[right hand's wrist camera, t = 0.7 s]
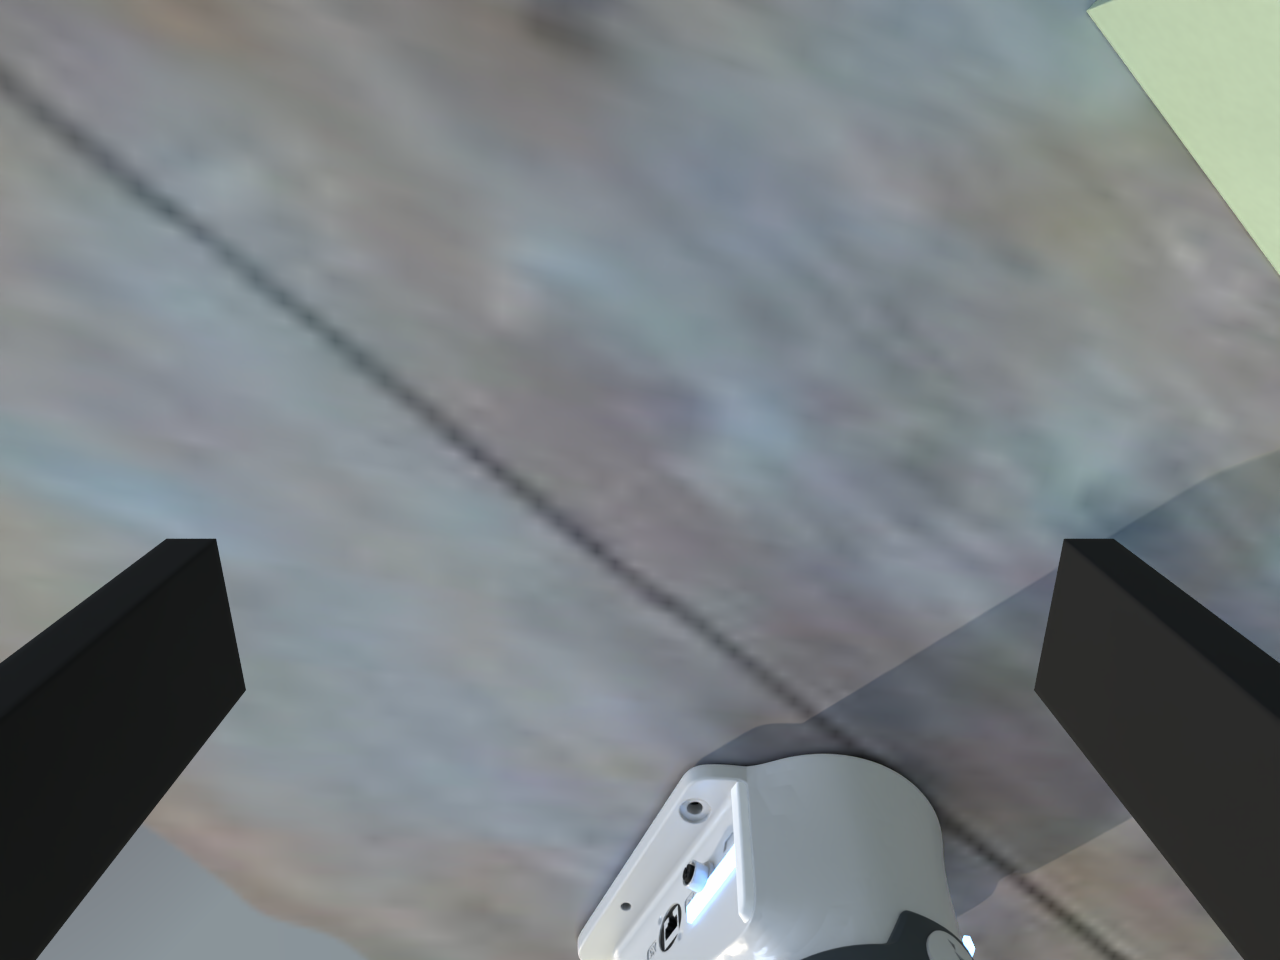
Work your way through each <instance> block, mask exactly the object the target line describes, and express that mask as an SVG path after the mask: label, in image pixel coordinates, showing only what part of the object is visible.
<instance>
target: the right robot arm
mask: <svg viewBox="0 0 1280 960" xmlns="http://www.w3.org/2000/svg"><path fill="white" fill-rule="evenodd" d="M245 691H246V688H245V683H244V678H243V673H242V668H241V663H240V658H239V653H238V648H237V643H236V638H235V633H234V628H233V623H232V617H231V612H230V607H229V602H228V597H227V592H226V587H225V582H224V577H223V572H222V567H221V562H220V557H219V551H218V546H217V541H216V539H166V540H164V541H163V542H162V543H160V544H159V545H158V546H156V547H155V548H154V549H152V550H151V551H150V552H148V553H147V554H146V555H144V556H143V557H142V558H140V559H139V560H138V561H136V562H135V563H134V564H132V565H131V566H130V567H128V568H127V569H126V570H124V571H123V572H122V573H120V574H119V575H118V576H116V577H115V578H114V579H112V580H111V581H110V582H108V583H107V584H106V585H104V586H103V587H102V588H100V589H99V590H98V591H96V592H95V593H94V594H92V595H91V596H90V597H88V598H87V599H86V600H84V601H83V602H82V603H80V604H79V605H78V606H76V607H75V608H74V609H72V610H71V611H70V612H68V613H67V614H66V615H64V616H63V617H62V618H60V619H59V620H58V621H56V622H55V623H54V624H52V625H51V626H50V627H48V628H47V629H46V630H44V631H43V632H41V633H40V634H39V635H37V636H36V637H35V638H33V639H32V640H31V641H29V642H28V643H27V644H25V645H24V646H23V647H21V648H20V649H19V650H17V651H16V652H15V653H13V654H12V655H11V656H9V657H8V658H7V659H5V660H4V661H3V662H1V663H0V960H36V959H37V958H38V956H39V955H40V954H41V953H42V951H43V950H44V949H45V947H46V946H47V945H48V944H49V942H50V941H51V940H52V938H53V937H54V936H55V934H56V933H57V932H58V931H59V929H60V928H61V927H62V926H63V924H64V923H65V922H66V920H67V919H68V918H69V917H70V915H71V914H72V913H73V911H74V910H75V909H76V908H77V906H78V905H79V904H80V902H81V901H82V900H83V899H84V897H85V896H86V895H87V893H88V892H89V891H90V890H91V888H92V887H93V886H94V885H95V883H96V882H97V881H98V879H99V878H100V877H101V876H102V874H103V873H104V872H105V870H106V869H107V868H108V867H109V865H110V864H111V863H112V861H113V860H114V859H115V858H116V856H117V855H118V854H119V852H120V851H121V850H122V849H123V847H124V846H125V845H126V843H127V842H128V841H129V840H130V838H131V837H132V836H133V834H134V833H135V832H136V831H137V829H138V828H139V827H140V825H141V824H142V823H143V822H144V820H145V819H146V818H147V816H148V815H149V814H150V813H151V811H152V810H153V809H154V807H155V806H156V805H157V804H158V802H159V801H160V800H161V798H162V797H163V796H164V795H165V793H166V792H167V791H168V789H169V788H170V787H171V786H172V784H173V783H174V782H175V781H176V779H177V778H178V777H179V775H180V774H181V773H182V772H183V770H184V769H185V768H186V766H187V765H188V764H189V763H190V761H191V760H192V759H193V757H194V756H195V755H196V754H197V752H198V751H199V750H200V748H201V747H202V746H203V745H204V743H205V742H206V741H207V739H208V738H209V737H210V736H211V734H212V733H213V732H214V730H215V729H216V728H217V727H218V725H219V724H220V723H221V721H222V720H223V719H224V718H225V716H226V715H227V714H228V712H229V711H230V710H231V709H232V707H233V706H234V705H235V703H236V702H237V701H238V700H239V698H240V697H241V696H242V694H243V693H244V692H245ZM1034 691H1035V692H1036V693H1037V694H1038V696H1039V697H1040V698H1041V700H1042V701H1043V702H1044V703H1045V705H1046V706H1047V707H1048V709H1049V710H1050V711H1051V712H1052V714H1053V715H1054V716H1055V718H1056V719H1057V720H1058V721H1059V723H1060V724H1061V725H1062V727H1063V728H1064V729H1065V730H1066V732H1067V733H1068V734H1069V736H1070V737H1071V738H1072V739H1073V741H1074V742H1075V743H1076V745H1077V746H1078V747H1079V748H1080V750H1081V751H1082V752H1083V754H1084V755H1085V756H1086V757H1087V759H1088V760H1089V761H1090V763H1091V764H1092V765H1093V766H1094V768H1095V769H1096V770H1097V772H1098V773H1099V774H1100V775H1101V777H1102V778H1103V779H1104V781H1105V782H1106V783H1107V784H1108V786H1109V787H1110V788H1111V789H1112V791H1113V792H1114V793H1115V795H1116V796H1117V797H1118V798H1119V800H1120V801H1121V802H1122V804H1123V805H1124V806H1125V807H1126V809H1127V810H1128V811H1129V813H1130V814H1131V815H1132V816H1133V818H1134V819H1135V820H1136V822H1137V823H1138V824H1139V825H1140V827H1141V828H1142V829H1143V831H1144V832H1145V833H1146V834H1147V836H1148V837H1149V838H1150V840H1151V841H1152V842H1153V843H1154V845H1155V846H1156V847H1157V849H1158V850H1159V851H1160V852H1161V854H1162V855H1163V856H1164V858H1165V859H1166V860H1167V861H1168V863H1169V864H1170V865H1171V867H1172V868H1173V869H1174V870H1175V872H1176V873H1177V874H1178V876H1179V877H1180V878H1181V879H1182V881H1183V882H1184V883H1185V885H1186V886H1187V887H1188V888H1189V890H1190V891H1191V892H1192V894H1193V895H1194V896H1195V897H1196V899H1197V900H1198V901H1199V903H1200V904H1201V905H1202V906H1203V908H1204V909H1205V910H1206V911H1207V913H1208V914H1209V915H1210V917H1211V918H1212V919H1213V920H1214V922H1215V923H1216V924H1217V926H1218V927H1219V928H1220V929H1221V931H1222V932H1223V933H1224V935H1225V936H1226V937H1227V938H1228V940H1229V941H1230V942H1231V944H1232V945H1233V946H1234V947H1235V949H1236V950H1237V951H1238V953H1239V954H1240V955H1241V956H1242V958H1243V959H1244V960H1280V663H1279V662H1277V661H1276V660H1275V659H1273V658H1272V657H1271V656H1269V655H1268V654H1267V653H1265V652H1264V651H1263V650H1261V649H1260V648H1259V647H1257V646H1256V645H1255V644H1253V643H1252V642H1251V641H1249V640H1248V639H1247V638H1245V637H1244V636H1243V635H1241V634H1240V633H1239V632H1237V631H1236V630H1234V629H1233V628H1232V627H1230V626H1229V625H1228V624H1226V623H1225V622H1224V621H1222V620H1221V619H1220V618H1218V617H1217V616H1216V615H1214V614H1213V613H1212V612H1210V611H1209V610H1208V609H1206V608H1205V607H1204V606H1202V605H1201V604H1200V603H1198V602H1197V601H1196V600H1194V599H1193V598H1192V597H1190V596H1189V595H1188V594H1186V593H1185V592H1184V591H1182V590H1181V589H1180V588H1178V587H1177V586H1176V585H1174V584H1173V583H1172V582H1170V581H1169V580H1168V579H1166V578H1165V577H1164V576H1162V575H1161V574H1160V573H1158V572H1157V571H1156V570H1154V569H1153V568H1152V567H1150V566H1149V565H1148V564H1146V563H1145V562H1144V561H1142V560H1141V559H1140V558H1138V557H1137V556H1136V555H1134V554H1133V553H1132V552H1130V551H1129V550H1128V549H1126V548H1125V547H1124V546H1122V545H1121V544H1120V543H1118V542H1117V541H1116V540H1114V539H1064V541H1063V546H1062V551H1061V557H1060V562H1059V567H1058V572H1057V577H1056V582H1055V587H1054V592H1053V597H1052V602H1051V607H1050V612H1049V617H1048V623H1047V628H1046V633H1045V638H1044V643H1043V648H1042V653H1041V658H1040V663H1039V668H1038V673H1037V678H1036V683H1035V688H1034Z"/></svg>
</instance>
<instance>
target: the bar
mask: <svg viewBox="0 0 1280 960" xmlns="http://www.w3.org/2000/svg"><path fill="white" fill-rule="evenodd" d="M1087 12H1088V14H1089V15H1090V17H1091V18H1092V19H1093V21H1094V22H1095V23H1096V25H1097V26H1098V28H1099V29H1100V30H1101V32H1102V33H1103V34H1104V36H1105V37H1106V38H1107V40H1108V41H1109V43H1110V44H1111V45H1112V47H1113V48H1114V49H1115V51H1116V52H1117V53H1118V55H1119V56H1120V58H1121V59H1122V60H1123V62H1124V63H1125V64H1126V66H1127V67H1128V69H1129V70H1130V71H1131V73H1132V74H1133V75H1134V77H1135V78H1136V79H1137V81H1138V82H1139V84H1140V85H1141V86H1142V88H1143V89H1144V90H1145V92H1146V93H1147V95H1148V96H1149V97H1150V99H1151V100H1152V101H1153V103H1154V104H1155V105H1156V107H1157V108H1158V110H1159V111H1160V112H1161V114H1162V115H1163V116H1164V118H1165V119H1166V121H1167V122H1168V123H1169V125H1170V126H1171V127H1172V129H1173V130H1174V131H1175V133H1176V134H1177V136H1178V137H1179V138H1180V140H1181V141H1182V142H1183V144H1184V145H1185V146H1186V148H1187V149H1188V151H1189V152H1190V153H1191V155H1192V156H1193V157H1194V159H1195V160H1196V162H1197V163H1198V164H1199V166H1200V167H1201V168H1202V170H1203V171H1204V172H1205V174H1206V175H1207V177H1208V178H1209V179H1210V181H1211V182H1212V183H1213V185H1214V186H1215V188H1216V189H1217V190H1218V192H1219V193H1220V194H1221V196H1222V197H1223V198H1224V200H1225V201H1226V203H1227V204H1228V205H1229V207H1230V208H1231V209H1232V211H1233V212H1234V214H1235V215H1236V216H1237V218H1238V219H1239V220H1240V222H1241V223H1242V224H1243V226H1244V227H1245V229H1246V230H1247V231H1248V233H1249V234H1250V235H1251V237H1252V238H1253V240H1254V241H1255V242H1256V244H1257V245H1258V246H1259V248H1260V249H1261V250H1262V252H1263V253H1264V255H1265V256H1266V257H1267V259H1268V260H1269V261H1270V263H1271V264H1272V265H1273V267H1274V268H1275V270H1276V271H1277V272H1278V274H1279V275H1280V0H1097V1H1096V2H1095V3H1094V4H1093V5H1092V6H1091V7H1090V8H1089V9H1088V10H1087Z"/></svg>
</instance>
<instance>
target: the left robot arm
mask: <svg viewBox="0 0 1280 960" xmlns="http://www.w3.org/2000/svg"><path fill="white" fill-rule="evenodd" d="M691 802H699V804H697V805H691V804H690V803H691ZM974 950H975V947H974V945H973V943H972V941H971V938H970V936H964V937H963V940H962V937H961V933H960V930H959V926H958V923H957V919H956V916H955V912H954V908H953V905H952V901H951V896H950V892H949V888H948V883H947V877H946V872H945V865H944V855H943V839H942V832H941V827H940V823H939V820H938V818H937V815H936V813H935V811H934V809H933V807H932V806H931V804H930V803H929V801H928V800H927V798H926V797H925V796H924V795H923V793H922V792H921V791H920V790H919V789H918V788H917V787H916V786H915V785H914V784H912V783H911V782H910V781H909V780H907V779H906V778H905V777H903V776H902V775H900V774H899V773H897V772H895V771H893V770H892V769H890V768H887V767H885V766H883V765H881V764H878V763H875V762H873V761H869V760H866V759H862V758H858V757H853V756H848V755H839V754H807V755H799V756H793V757H788V758H783V759H779V760H775V761H772V762H768V763H764V764H759V765H754V766H737V765H724V764H705V765H699V766H695V767H693V768H691V769H689V770H688V771H687V772H686V773H685V774H684V775H683V777H682V778H681V780H680V781H679V783H678V784H677V786H676V787H675V789H674V791H673V792H672V794H671V795H670V797H669V798H668V800H667V801H666V803H665V804H664V806H663V807H662V809H661V810H660V812H659V813H658V815H657V816H656V818H655V820H654V821H653V823H652V824H651V826H650V827H649V829H648V830H647V832H646V833H645V835H644V836H643V838H642V839H641V841H640V842H639V844H638V845H637V847H636V848H635V850H634V852H633V853H632V855H631V856H630V858H629V859H628V861H627V862H626V864H625V865H624V867H623V868H622V870H621V871H620V873H619V874H618V876H617V877H616V879H615V880H614V882H613V884H612V885H611V887H610V888H609V890H608V891H607V893H606V894H605V896H604V897H603V899H602V900H601V902H600V903H599V905H598V906H597V908H596V909H595V911H594V912H593V914H592V916H591V917H590V919H589V920H588V922H587V923H586V925H585V926H584V928H583V930H582V931H581V933H580V935H579V937H578V955H579V957H580V960H973V958H972V956H973V953H974Z"/></svg>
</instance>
